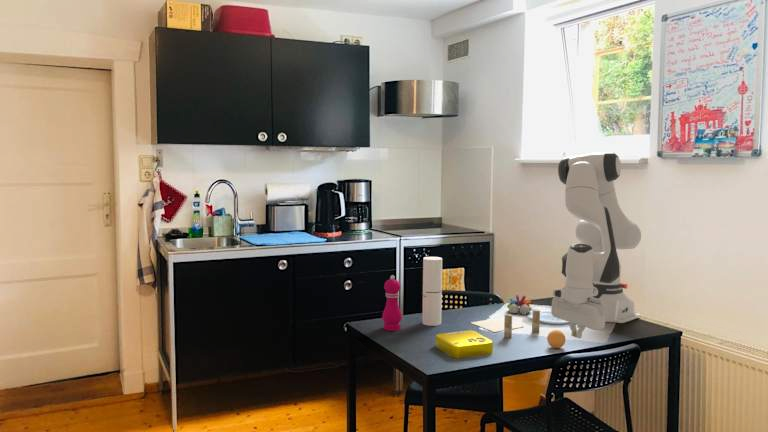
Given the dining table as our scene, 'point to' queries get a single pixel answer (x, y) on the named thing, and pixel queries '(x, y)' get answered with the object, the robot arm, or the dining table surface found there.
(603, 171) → the robot arm
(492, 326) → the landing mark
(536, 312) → the right post
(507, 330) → the left post
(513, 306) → the multicoloured rounded cluster
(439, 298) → the cylindrical container
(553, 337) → the ball
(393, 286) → the pepper mill
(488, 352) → the element tile
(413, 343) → the dining table surface
